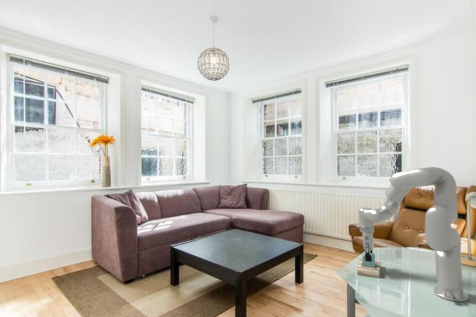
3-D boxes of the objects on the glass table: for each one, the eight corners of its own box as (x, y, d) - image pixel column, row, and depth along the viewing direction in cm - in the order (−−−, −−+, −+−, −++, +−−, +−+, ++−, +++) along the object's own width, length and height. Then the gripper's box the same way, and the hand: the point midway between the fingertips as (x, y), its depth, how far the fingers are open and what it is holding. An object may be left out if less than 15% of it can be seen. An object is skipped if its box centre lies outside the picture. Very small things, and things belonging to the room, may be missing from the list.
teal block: (374, 267, 149) (374, 256, 150) (363, 266, 152) (362, 255, 153) (375, 264, 155) (374, 253, 155) (364, 262, 158) (363, 252, 158)
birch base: (379, 278, 143) (378, 272, 143) (357, 274, 148) (357, 268, 149) (380, 266, 158) (380, 261, 158) (360, 263, 164) (360, 258, 164)
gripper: (373, 233, 145) (375, 264, 144) (374, 226, 160) (377, 254, 159) (358, 232, 149) (360, 262, 148) (361, 225, 164) (363, 253, 163)
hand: (369, 258), depth 153 cm, fingers open, 9 cm apart
